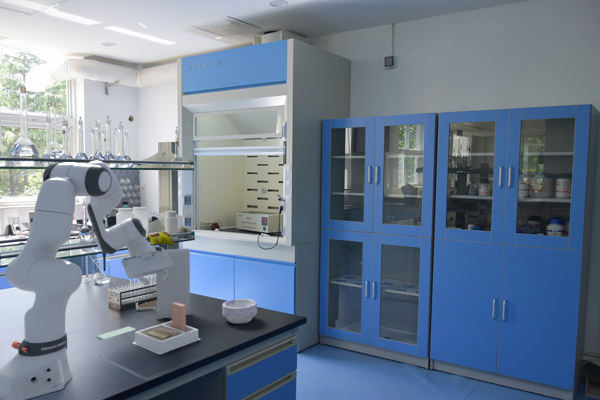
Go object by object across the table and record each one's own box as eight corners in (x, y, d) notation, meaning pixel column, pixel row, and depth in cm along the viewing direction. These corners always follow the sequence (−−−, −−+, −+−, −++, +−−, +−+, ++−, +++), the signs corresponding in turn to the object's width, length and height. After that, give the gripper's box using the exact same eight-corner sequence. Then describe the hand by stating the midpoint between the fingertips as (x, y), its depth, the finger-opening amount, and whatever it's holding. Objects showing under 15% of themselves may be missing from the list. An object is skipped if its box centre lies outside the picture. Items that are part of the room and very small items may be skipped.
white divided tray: (159, 357, 162) (159, 343, 162) (132, 345, 172) (131, 332, 172) (201, 341, 177) (201, 328, 177) (173, 331, 187) (173, 319, 187)
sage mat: (116, 345, 171) (116, 344, 171) (96, 337, 180) (96, 335, 180) (148, 335, 182) (148, 334, 182) (128, 327, 191) (128, 326, 191)
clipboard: (173, 290, 245) (179, 307, 217) (173, 293, 245) (179, 310, 217) (135, 293, 238) (136, 310, 210) (135, 296, 238) (136, 314, 210)
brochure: (188, 312, 211) (188, 248, 209) (189, 316, 206) (189, 250, 204) (156, 315, 207) (156, 250, 205) (156, 319, 202) (156, 252, 199)
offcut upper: (163, 343, 167) (163, 337, 167) (145, 338, 171) (145, 333, 171) (177, 337, 173) (177, 331, 173) (159, 332, 178) (159, 327, 177)
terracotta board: (181, 339, 176) (181, 306, 175) (171, 335, 180) (171, 303, 179) (185, 337, 178) (185, 305, 177) (176, 334, 181) (176, 302, 181)
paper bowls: (226, 314, 210) (226, 297, 210) (259, 315, 209) (259, 298, 208) (218, 325, 195) (218, 307, 195) (253, 327, 194) (253, 308, 193)
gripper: (122, 254, 181) (137, 282, 176) (166, 246, 198) (180, 272, 192) (116, 263, 184) (131, 291, 179) (160, 255, 201) (174, 281, 195)
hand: (157, 281), depth 186 cm, fingers open, 8 cm apart
